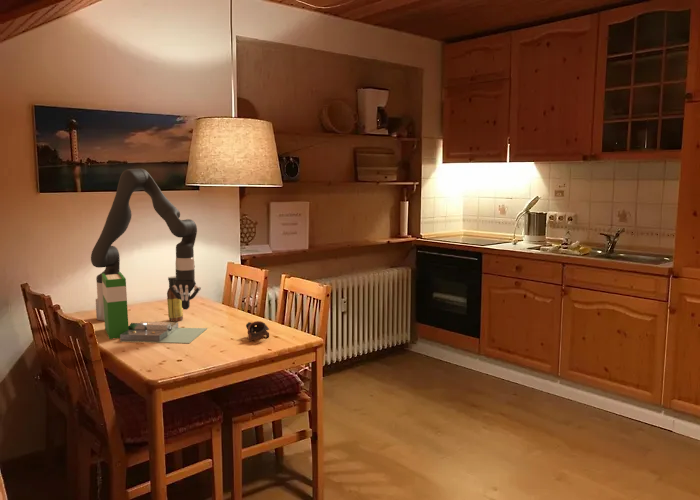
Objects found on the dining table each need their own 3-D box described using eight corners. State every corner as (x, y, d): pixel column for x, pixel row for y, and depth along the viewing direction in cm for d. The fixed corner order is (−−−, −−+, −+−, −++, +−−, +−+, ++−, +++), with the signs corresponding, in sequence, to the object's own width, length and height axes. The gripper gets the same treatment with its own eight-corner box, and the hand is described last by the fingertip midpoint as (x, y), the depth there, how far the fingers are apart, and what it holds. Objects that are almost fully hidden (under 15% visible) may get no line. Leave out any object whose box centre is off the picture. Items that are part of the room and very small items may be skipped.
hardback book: (105, 328, 253) (101, 273, 250) (123, 326, 257) (120, 272, 253) (109, 339, 238) (105, 280, 234) (129, 336, 241) (125, 278, 238)
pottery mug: (276, 338, 241) (272, 324, 236) (259, 353, 235) (256, 338, 230) (255, 327, 247) (251, 312, 242) (238, 340, 242) (234, 326, 236)
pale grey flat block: (129, 334, 242) (128, 324, 242) (142, 327, 254) (141, 317, 254) (167, 335, 241) (166, 325, 240) (178, 328, 253) (177, 317, 252)
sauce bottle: (185, 318, 271) (183, 275, 269) (179, 322, 265) (178, 278, 262) (171, 318, 272) (169, 275, 269) (165, 321, 266) (164, 278, 263)
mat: (119, 341, 234) (119, 341, 234) (143, 327, 256) (143, 326, 256) (189, 343, 232) (189, 342, 232) (207, 328, 254) (207, 328, 254)
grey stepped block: (118, 340, 235) (117, 329, 234) (131, 332, 247) (131, 321, 246) (161, 341, 233) (161, 330, 233) (173, 333, 245) (172, 322, 245)
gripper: (165, 269, 241) (166, 310, 243) (197, 270, 240) (198, 311, 242) (172, 266, 248) (173, 306, 251) (203, 267, 247) (204, 307, 250)
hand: (185, 309), depth 247 cm, fingers closed
